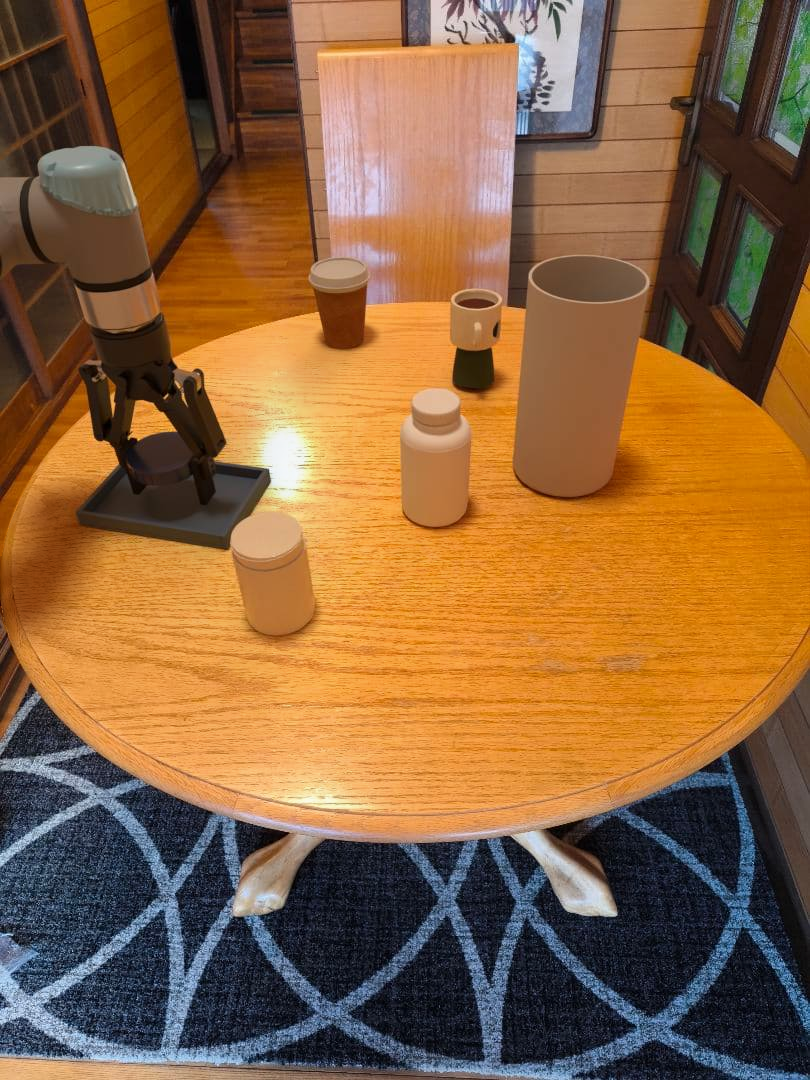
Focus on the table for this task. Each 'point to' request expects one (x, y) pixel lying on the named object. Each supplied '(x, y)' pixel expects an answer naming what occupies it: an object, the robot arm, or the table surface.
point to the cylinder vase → (576, 371)
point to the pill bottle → (435, 459)
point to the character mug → (474, 335)
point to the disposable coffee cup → (341, 299)
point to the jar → (273, 572)
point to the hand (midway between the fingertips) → (174, 492)
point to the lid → (159, 459)
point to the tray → (177, 506)
